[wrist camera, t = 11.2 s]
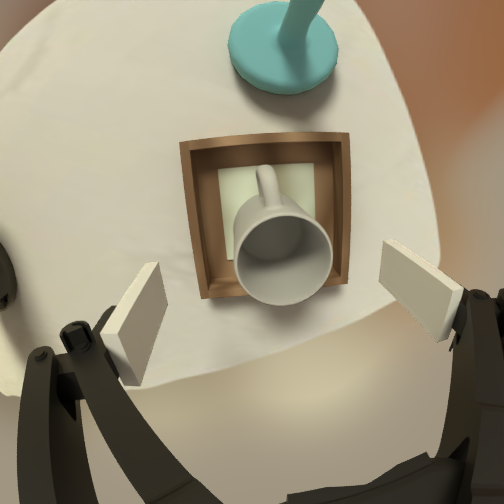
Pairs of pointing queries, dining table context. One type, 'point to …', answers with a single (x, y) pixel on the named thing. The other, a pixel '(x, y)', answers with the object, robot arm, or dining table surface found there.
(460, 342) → the robot arm
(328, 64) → the teal branch stand
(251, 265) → the mug
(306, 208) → the walnut box
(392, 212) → the dining table surface
